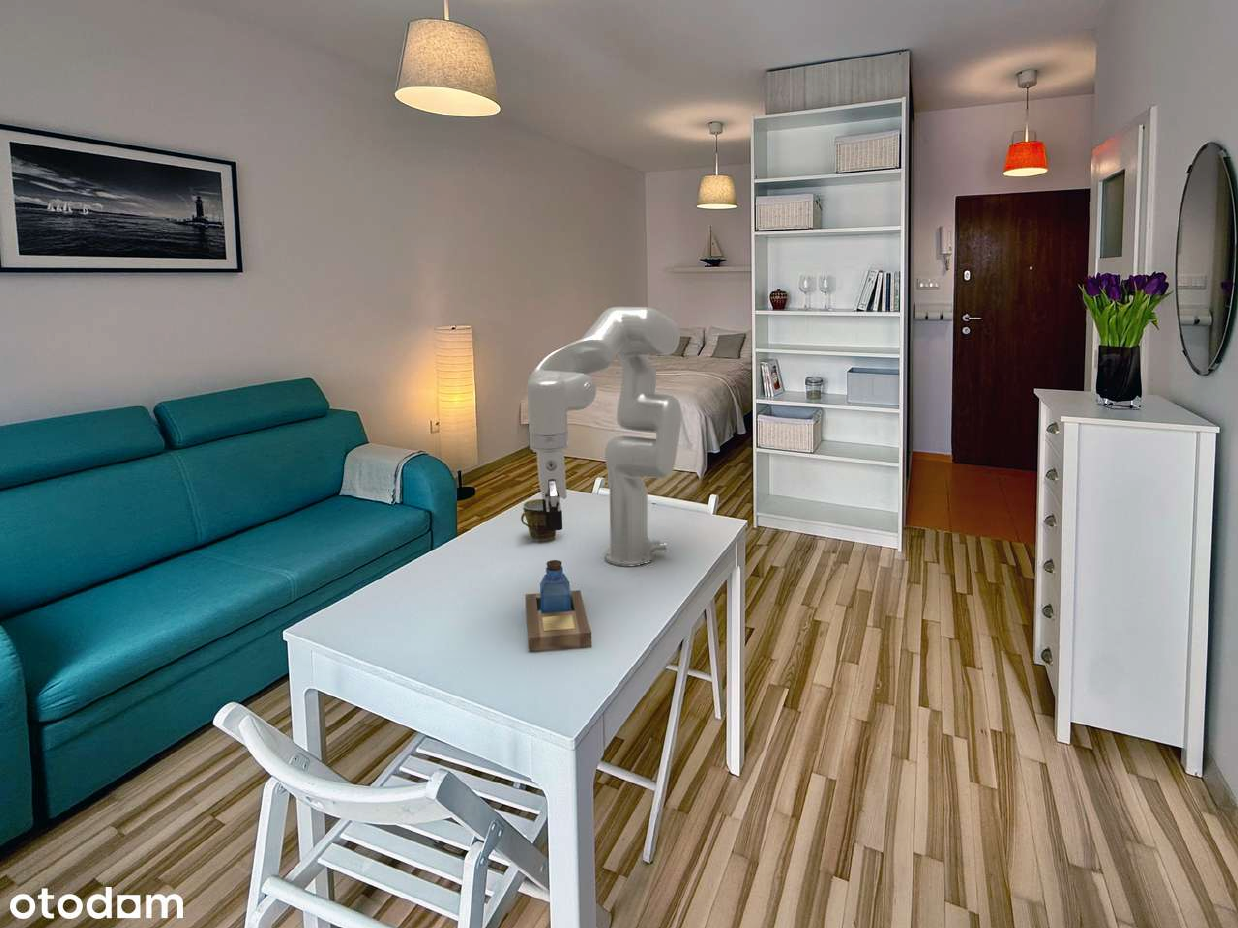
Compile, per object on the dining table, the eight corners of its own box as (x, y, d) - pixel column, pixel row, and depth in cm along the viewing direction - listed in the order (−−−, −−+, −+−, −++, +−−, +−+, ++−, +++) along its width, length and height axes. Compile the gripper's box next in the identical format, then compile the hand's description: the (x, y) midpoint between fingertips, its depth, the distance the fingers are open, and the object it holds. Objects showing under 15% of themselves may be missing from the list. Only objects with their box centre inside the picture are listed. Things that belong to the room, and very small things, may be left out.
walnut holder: (580, 602, 161) (580, 589, 161) (591, 646, 142) (591, 631, 142) (525, 606, 160) (525, 593, 159) (529, 652, 141) (528, 637, 140)
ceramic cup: (541, 530, 208) (539, 496, 205) (568, 537, 202) (567, 502, 199) (509, 543, 197) (507, 508, 195) (537, 551, 192) (535, 515, 189)
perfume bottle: (541, 610, 158) (539, 558, 155) (570, 608, 158) (568, 556, 155) (541, 623, 152) (539, 569, 149) (571, 621, 152) (569, 567, 149)
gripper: (571, 449, 137) (574, 535, 142) (564, 430, 154) (567, 507, 158) (531, 451, 136) (536, 537, 141) (528, 432, 153) (532, 509, 157)
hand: (552, 521), depth 150 cm, fingers open, 9 cm apart
